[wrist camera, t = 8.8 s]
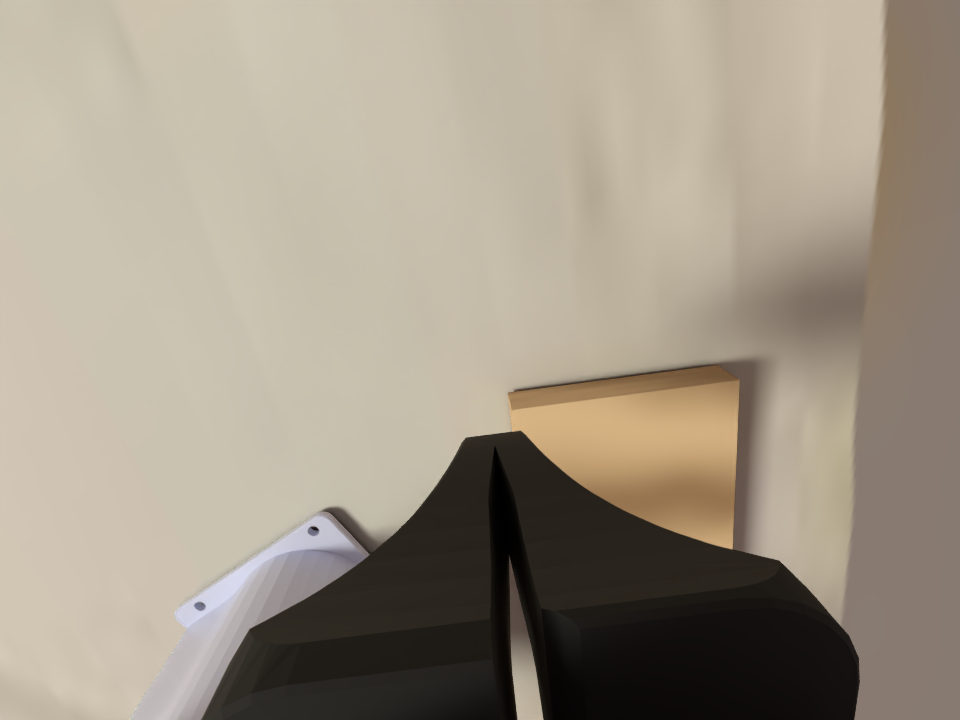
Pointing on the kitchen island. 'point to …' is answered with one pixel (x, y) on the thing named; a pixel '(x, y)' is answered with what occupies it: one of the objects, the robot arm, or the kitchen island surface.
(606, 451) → the oak plank
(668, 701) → the robot arm
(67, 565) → the kitchen island surface
